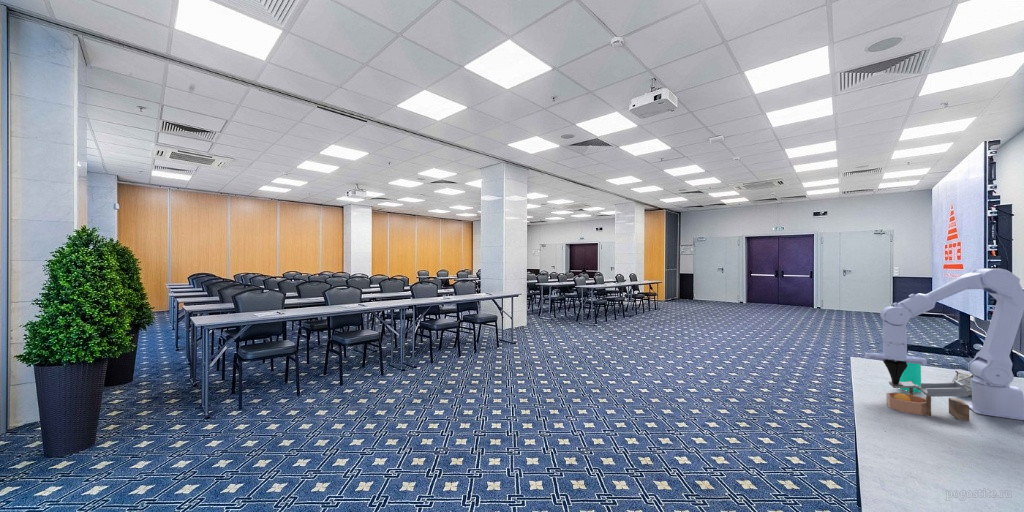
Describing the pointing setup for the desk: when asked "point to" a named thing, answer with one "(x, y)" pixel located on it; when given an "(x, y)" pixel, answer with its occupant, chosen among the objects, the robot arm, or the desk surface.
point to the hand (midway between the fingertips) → (895, 383)
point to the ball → (902, 397)
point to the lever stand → (955, 407)
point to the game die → (964, 381)
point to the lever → (936, 388)
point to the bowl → (907, 404)
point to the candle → (912, 375)
